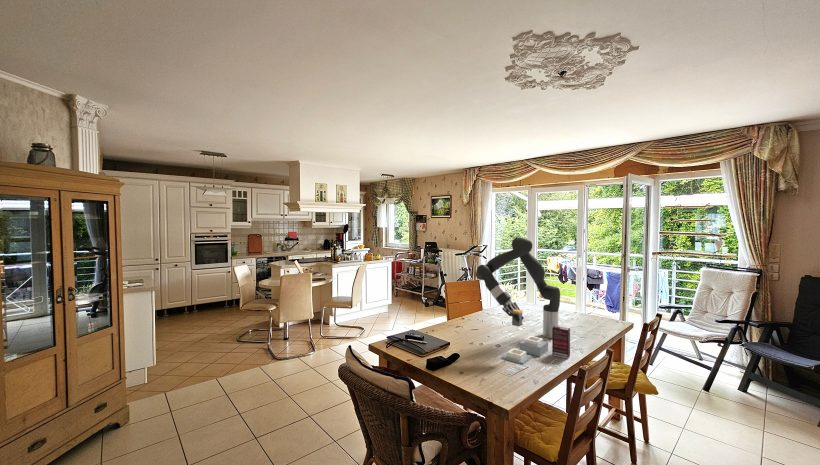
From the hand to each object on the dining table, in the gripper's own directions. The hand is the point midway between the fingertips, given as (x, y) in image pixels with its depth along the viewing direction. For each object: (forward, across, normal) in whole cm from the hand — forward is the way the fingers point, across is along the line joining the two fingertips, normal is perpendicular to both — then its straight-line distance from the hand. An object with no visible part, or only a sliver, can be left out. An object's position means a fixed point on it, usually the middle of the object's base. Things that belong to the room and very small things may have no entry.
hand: (520, 320), depth 180 cm
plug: (+1, 0, +4) cm, 4 cm away
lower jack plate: (+14, 0, +16) cm, 21 cm away
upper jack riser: (+16, +17, +14) cm, 27 cm away
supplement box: (+26, +20, +4) cm, 33 cm away
